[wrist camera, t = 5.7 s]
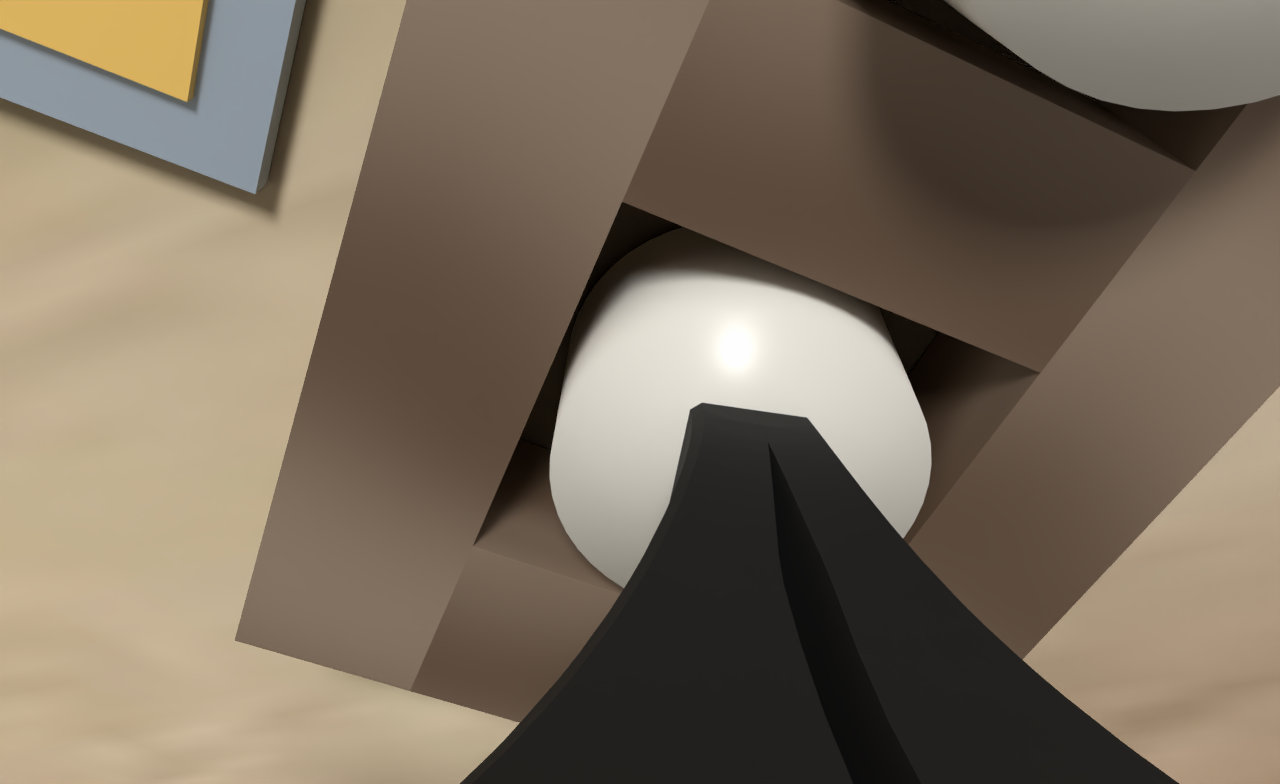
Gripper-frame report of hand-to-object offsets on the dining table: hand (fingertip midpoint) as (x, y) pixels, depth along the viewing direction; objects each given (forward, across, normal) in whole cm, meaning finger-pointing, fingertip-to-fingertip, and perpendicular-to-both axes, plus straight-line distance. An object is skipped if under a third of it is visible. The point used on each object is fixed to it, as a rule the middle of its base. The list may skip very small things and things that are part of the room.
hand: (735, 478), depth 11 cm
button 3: (+3, 0, 0) cm, 3 cm away
